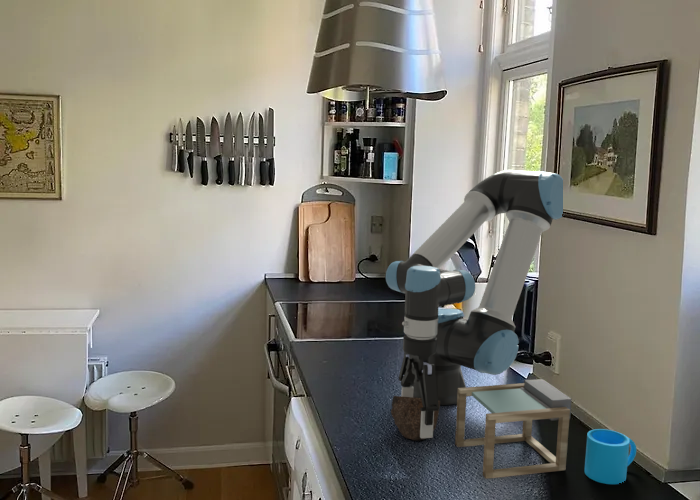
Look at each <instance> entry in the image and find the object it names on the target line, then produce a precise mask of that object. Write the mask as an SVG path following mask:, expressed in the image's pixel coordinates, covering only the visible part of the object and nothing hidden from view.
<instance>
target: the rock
mask: <svg viewBox="0 0 700 500" xmlns="http://www.w3.org/2000/svg"><path fill="white" fill-rule="evenodd" d="M438 405H439V410H438V411H434V423H433V432H434V431H435V430H436V428H437V423H438V419H439V413H440V407H441V405H440V401H438ZM421 408H423V405H422V399H421V398H413V397H402V396H401V395H400V396H399V395H393V397H392V401H391V410H390V412H391V413H390V415H391V416H392V418H393V420H394V424H395V426H396V427H397V428H398V432H399V433H400V434H401V436H402V437H404V438H405V439H410V440H412V441H416V442H420V441H424V440H426V439H427V438H422V439H421V438H420V426H421V411H420V409H421Z"/></svg>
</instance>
